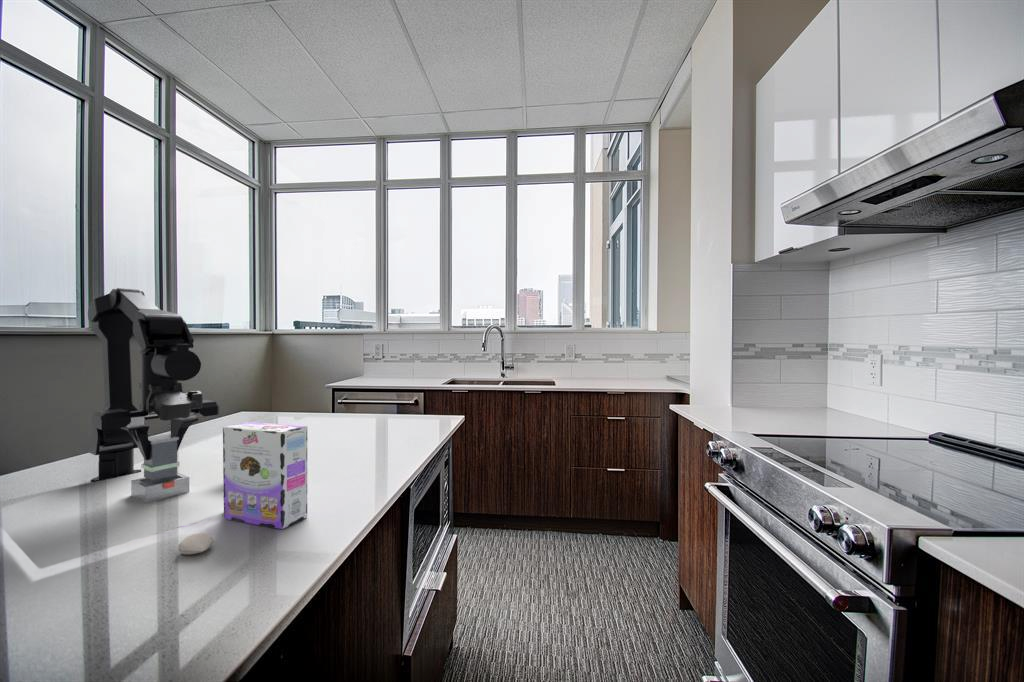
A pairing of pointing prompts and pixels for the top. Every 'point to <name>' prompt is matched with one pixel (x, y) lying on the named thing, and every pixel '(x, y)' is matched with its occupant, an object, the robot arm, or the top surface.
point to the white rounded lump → (195, 543)
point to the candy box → (265, 473)
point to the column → (161, 457)
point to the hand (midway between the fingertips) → (160, 457)
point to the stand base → (159, 487)
